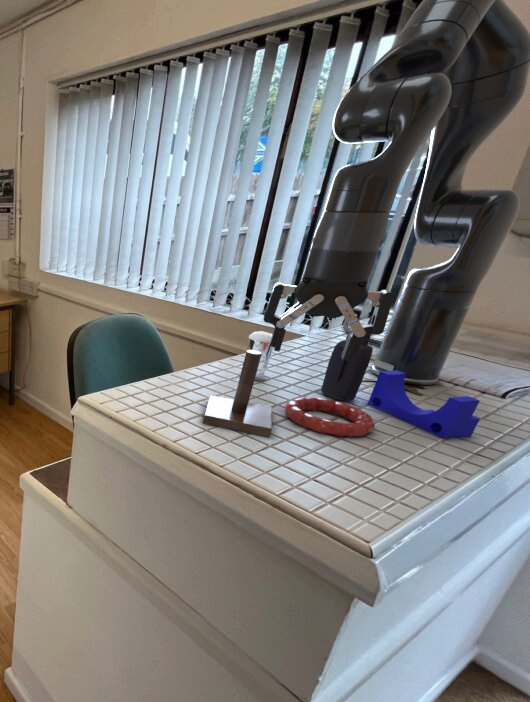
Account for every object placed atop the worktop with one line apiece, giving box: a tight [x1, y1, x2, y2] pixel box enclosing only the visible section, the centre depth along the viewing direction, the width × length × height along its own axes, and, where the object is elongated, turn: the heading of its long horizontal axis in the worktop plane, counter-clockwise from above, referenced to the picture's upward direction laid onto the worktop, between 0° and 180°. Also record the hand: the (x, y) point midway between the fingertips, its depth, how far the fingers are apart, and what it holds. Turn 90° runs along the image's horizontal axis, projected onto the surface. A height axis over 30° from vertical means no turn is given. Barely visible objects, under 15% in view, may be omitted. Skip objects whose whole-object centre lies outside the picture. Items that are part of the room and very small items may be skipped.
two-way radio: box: [320, 314, 374, 402], centre depth 78 cm, size 6×4×15 cm
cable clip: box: [367, 370, 481, 439], centre depth 72 cm, size 12×4×6 cm, turn 5°
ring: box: [284, 397, 376, 437], centre depth 73 cm, size 11×11×2 cm
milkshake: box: [246, 330, 274, 381], centre depth 88 cm, size 4×5×10 cm
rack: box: [202, 350, 273, 438], centre depth 72 cm, size 9×9×12 cm
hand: (309, 354), depth 71 cm, fingers open, 8 cm apart
